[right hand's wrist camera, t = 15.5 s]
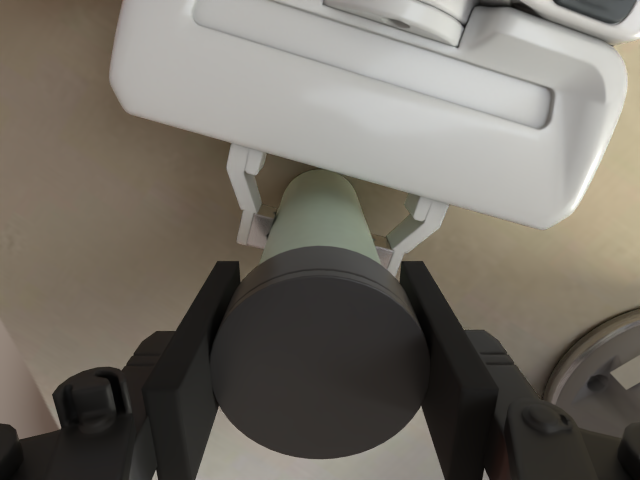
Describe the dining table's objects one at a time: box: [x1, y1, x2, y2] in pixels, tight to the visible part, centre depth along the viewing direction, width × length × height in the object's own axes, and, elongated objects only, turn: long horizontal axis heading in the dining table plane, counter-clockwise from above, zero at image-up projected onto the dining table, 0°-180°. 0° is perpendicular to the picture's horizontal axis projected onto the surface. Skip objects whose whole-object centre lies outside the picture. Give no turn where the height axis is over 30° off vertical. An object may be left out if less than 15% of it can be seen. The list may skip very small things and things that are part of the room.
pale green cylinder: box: [259, 169, 381, 265], centre depth 18 cm, size 5×5×16 cm
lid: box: [209, 246, 431, 459], centre depth 12 cm, size 6×6×2 cm
